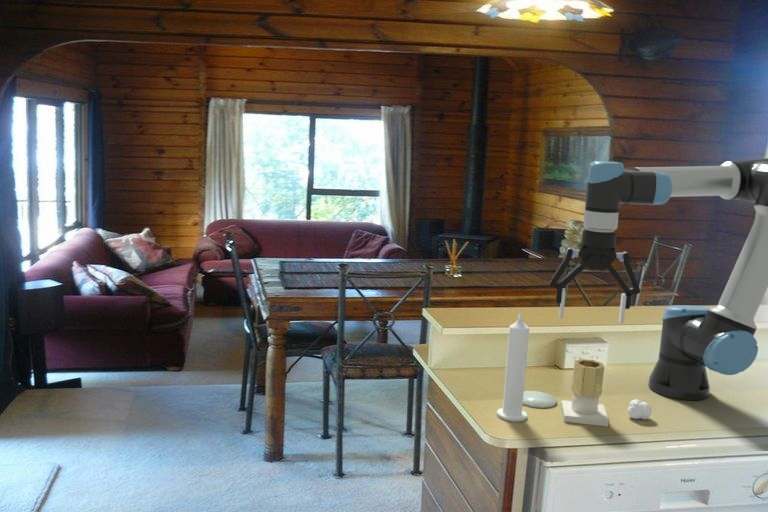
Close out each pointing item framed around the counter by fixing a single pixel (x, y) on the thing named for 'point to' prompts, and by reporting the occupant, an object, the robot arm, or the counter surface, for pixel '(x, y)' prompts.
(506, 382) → the candle
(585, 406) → the stand
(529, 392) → the coaster
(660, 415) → the counter surface
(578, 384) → the brass hex nut
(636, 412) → the microfossil shell
